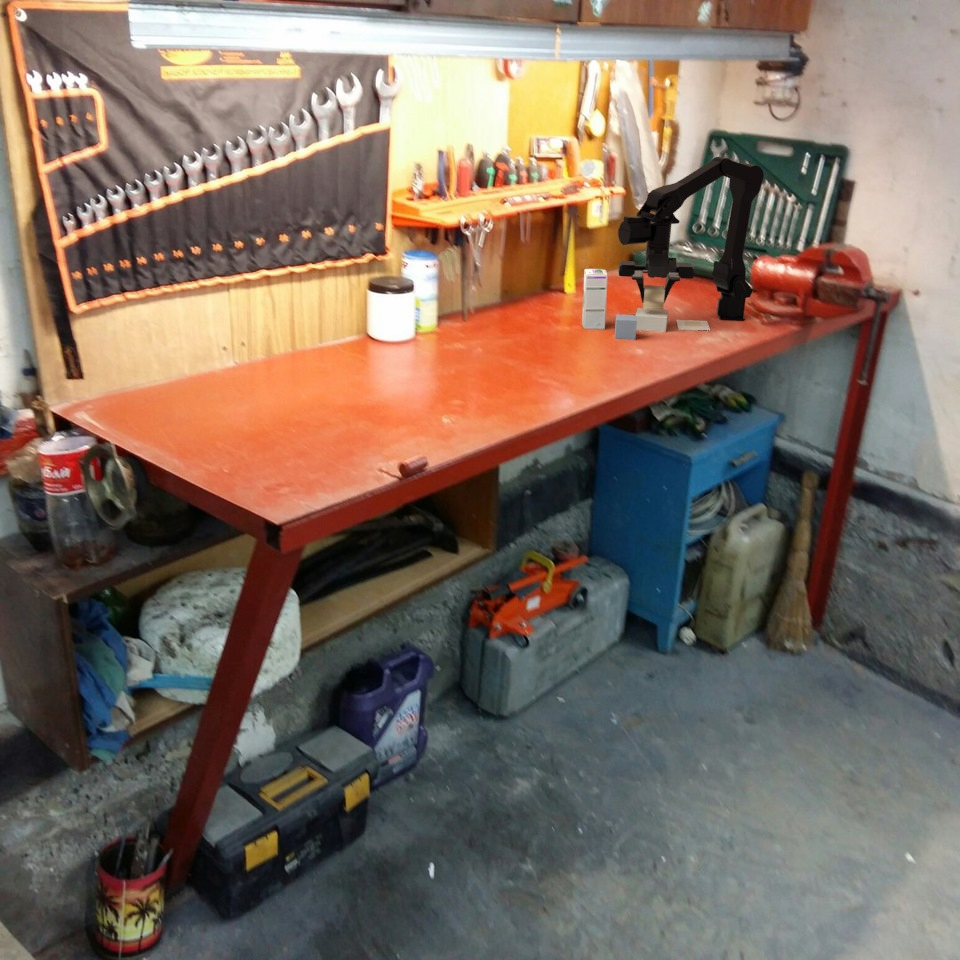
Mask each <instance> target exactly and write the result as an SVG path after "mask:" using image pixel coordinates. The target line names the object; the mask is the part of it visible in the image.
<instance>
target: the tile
mask: <svg viewBox="0 0 960 960" xmlns="http://www.w3.org/2000/svg"><path fill="white" fill-rule="evenodd" d="M675 321H676V325H677V329H678V331H679V330H680V331H698V330H707V331H706V332H711V328H710V326H709V323H708V321H707V320H697V319H696V320H692V319H691V320H690V319H689V320H688V319H676V320H675ZM708 330H709V331H708Z"/></svg>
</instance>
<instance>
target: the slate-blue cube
mask: <svg viewBox="0 0 960 960" xmlns="http://www.w3.org/2000/svg"><path fill="white" fill-rule="evenodd" d="M614 325H615V327H614V340H621V339H623V340H626V341H629V340H630V341H636V337H637V336H636V335H637V330H636V325H637V318H636V314H635V315H633V314H615V324H614ZM623 340H622V341H623Z"/></svg>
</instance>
